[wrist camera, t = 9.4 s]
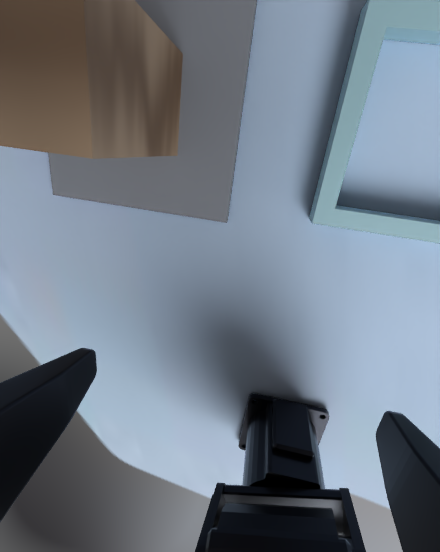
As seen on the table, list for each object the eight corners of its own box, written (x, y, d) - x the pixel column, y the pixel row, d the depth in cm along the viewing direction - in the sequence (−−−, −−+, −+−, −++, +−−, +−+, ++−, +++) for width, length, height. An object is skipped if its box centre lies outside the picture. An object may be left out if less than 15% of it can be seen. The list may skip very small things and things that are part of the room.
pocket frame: (482, 244, 17) (500, 253, 15) (308, 218, 18) (312, 223, 16) (594, 29, 13) (633, 15, 11) (360, 10, 14) (371, -5, 12)
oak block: (177, 155, 17) (92, 159, 9) (99, 145, 18) (-48, 138, 10) (182, 53, 15) (79, -62, 7) (94, 45, 16) (-98, -72, 8)
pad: (227, 221, 19) (226, 222, 18) (57, 193, 20) (53, 194, 20) (260, -25, 14) (260, -30, 13) (31, -42, 15) (25, -47, 15)
